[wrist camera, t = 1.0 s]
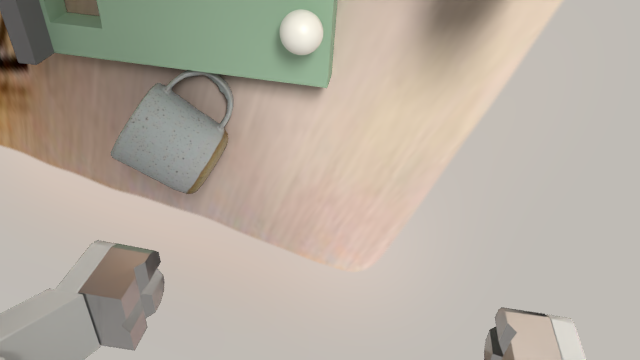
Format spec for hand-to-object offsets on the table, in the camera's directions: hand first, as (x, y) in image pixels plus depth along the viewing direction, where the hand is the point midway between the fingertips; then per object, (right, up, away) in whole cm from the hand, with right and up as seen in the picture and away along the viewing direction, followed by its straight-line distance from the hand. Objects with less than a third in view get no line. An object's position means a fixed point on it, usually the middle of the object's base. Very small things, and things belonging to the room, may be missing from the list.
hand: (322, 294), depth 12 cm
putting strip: (-12, +18, +28) cm, 35 cm away
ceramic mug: (-12, +9, +35) cm, 38 cm away
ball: (-1, +14, +25) cm, 29 cm away
